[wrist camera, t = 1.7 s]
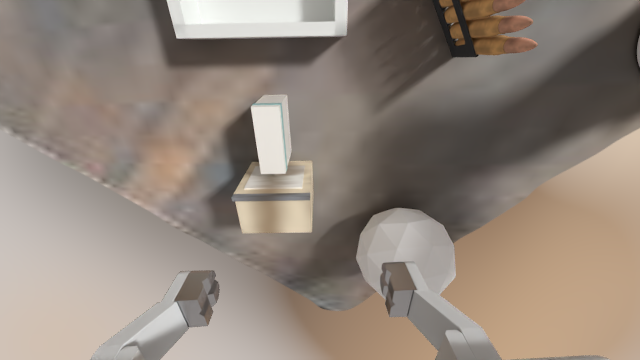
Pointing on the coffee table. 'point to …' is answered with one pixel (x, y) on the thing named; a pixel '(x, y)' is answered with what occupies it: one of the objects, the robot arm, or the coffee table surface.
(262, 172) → the teal-striped white carton
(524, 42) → the ammunition clip
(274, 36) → the tray
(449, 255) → the geodesic sphere
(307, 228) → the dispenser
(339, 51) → the coffee table surface
